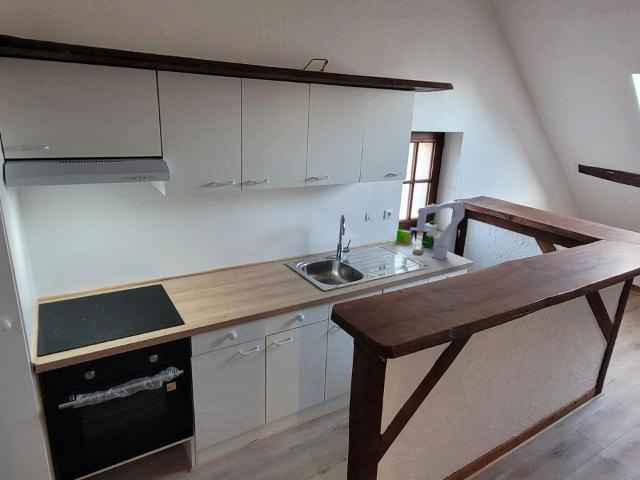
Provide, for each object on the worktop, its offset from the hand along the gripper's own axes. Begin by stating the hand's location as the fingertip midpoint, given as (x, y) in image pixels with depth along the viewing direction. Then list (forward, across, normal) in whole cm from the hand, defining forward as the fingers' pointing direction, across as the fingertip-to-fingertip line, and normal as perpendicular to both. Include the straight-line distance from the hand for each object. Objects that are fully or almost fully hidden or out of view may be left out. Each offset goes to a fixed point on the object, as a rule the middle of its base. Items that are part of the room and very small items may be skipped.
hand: (419, 241), depth 303 cm
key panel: (+9, 0, -5) cm, 11 cm away
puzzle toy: (+10, +13, -25) cm, 30 cm away
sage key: (+7, 0, 0) cm, 7 cm away
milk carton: (+10, -5, -21) cm, 24 cm away
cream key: (+7, 0, -5) cm, 9 cm away
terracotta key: (+7, 0, -10) cm, 13 cm away
